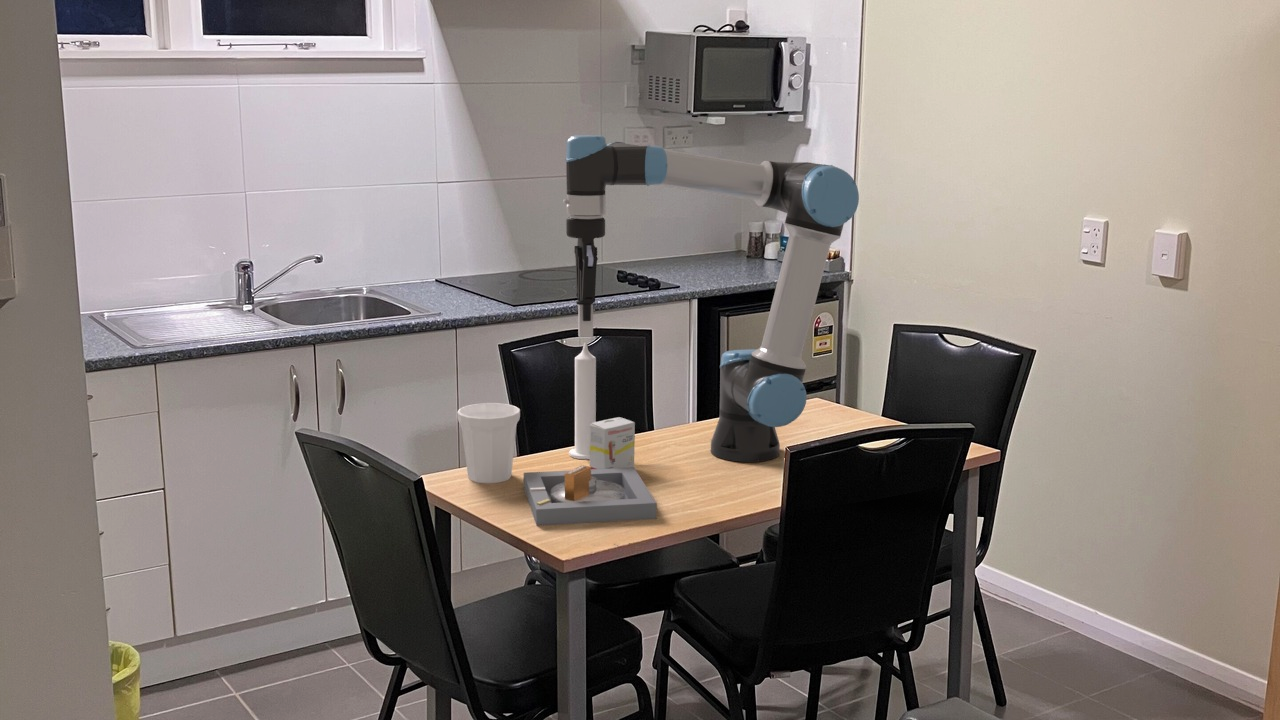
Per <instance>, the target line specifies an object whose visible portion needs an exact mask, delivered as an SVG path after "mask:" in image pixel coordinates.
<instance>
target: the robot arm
mask: <svg viewBox="0 0 1280 720" xmlns="http://www.w3.org/2000/svg"><path fill="white" fill-rule="evenodd" d="M606 141H607V140H606V138H605V136H603V135H595V134H594V135H587V134H584V135H583V134H579V135H578V134H577V135H571V136H570V137H569V138H568V139H567V142H566V154H565V155H566V156H565V162H566V165H565V167H566V168H565V171H566V172H565V173H566V175H565V176H566V199H563V204H564V205H566V214H567V215H568V217H567V218H566V219H565V220H566V221H565V225H566V230H565V231H566V236H567V237H568V238H573V239H577V243H576V244H577V245H574V251H573V252H574V255H575V256H574V258H575V275H576V278H575V281H576V298H577V301H576V302H575V303H576V305H577V308H578V309H577V310H578V312H577V313H578V315H577V317H578V319H577V320H578V321H577V322H578V323H577V325H578V326H577V327H578V329H577V330H578V331H577V333H578V334H577V335H578V338H593V337H594V303H595V302H596V286H597V285H596V281H597V279H596V278H597V264H598V259H599V258H598V247H596V245H595V241H594V240H595V239H600V238H603V237H605V235H606V219H605V218H604V217H603V216H604V215H606V208H607V207H606V199H607V197H606V195H607V194H606V186H646V187H649V186H657V187H664V188H669V189H675V190H682V191H688V192H689V191H690V192H694V193H695V192H697V193H701V194H703V193H704V194H707V195H708V194H710V195H714V196H715V195H716V196H723V197H728V198H729V197H730V198H736V199H742V200H747V201H748V200H749V201H754V203H755V204H756V206H758V207H762V208H768V209H772V210H776V211H779V212H783V213H785V214H786V217H785V220H784V226H785V227H786V230H787V232H788V234H789V235H788V240H787V242H786V247H785V251H784V256H783V259H782V263H781V267H780V271H779V276H778V279H777V282H776V287H775V289H774V293H773V294H774V295H773V298H772V302H771V305H770V311H769V313H768V318H767V321H766V326H765V330H764V334H763V338H762V341H761V345H760V346H759V348H757V349H756V348H755V349H749V348H748V349H734V350H727V351H725V352H724V353H722V354H721V358H720V359H721V360H720V365H719V369H720V376H719V377H720V381H719V383H720V384H719V387H720V388H719V419H718V421H717V424H716V427H715V429H714V433H713V436H712V438H711V442H710V453H711V454H712V455H713V456H714V457H717V458H719V459H721V460H722V459H723V460H727V461H731V462H740V463H741V462H745V463H755V462H756V463H757V462H765V461H771V460H773V459H776V458H777V457H779V456H780V453H781V452H780V450H781V449H780V447H781V446H780V440H779V438H778V437H779V436H778V433H777V430H776V428H780V427H781V428H782V427H785V426H787V425H789V424H791V423H793V422H795V421H796V420H797V419H798V418H799V417H800V416H801V414H802V413H803V411H804V410H805V407H806V403H807V398H808V397H807V391H806V388H805V386H804V384H803V381H804V377H805V374H806V370H807V365H806V363H805V362H804V360H803V359H802V358H803V357H802V355H803V352H804V348H805V344H806V341H807V340H806V339H807V337H808V332H809V328H810V325H811V320H812V316H813V314H814V310H815V306H816V302H817V298H818V294H819V290H820V286H821V282H822V278H823V275H824V271H825V267H826V263H827V261H828V256H829V252H830V248H831V245H832V243H834V242H836V241H838V240H839V239H840V238H841V236H842V232H843V229H844V225H845V224H846V223H847V222H849V220H851V219H852V218H853V216H854V215H855V214H856V212H857V209H858V206H859V201H860V194H859V188H858V185H857V183H856V181H855V179H854V178H853V177H852V176H851V175H850V174H849V173H848V172H847V170H844V169H842V168H839V167H837V166H834V165H833V164H824V163H823V164H820V163H816V162H815V163H814V162H808V161H807V162H805V161H804V162H801V161H800V162H782V161H780V162H779V161H771V160H763V161H762V162H761V163H760V164H758V163H752V162H746V161H741V160H734V159H727V158H720V157H714V156H709V155H708V156H707V155H701V154H695V153H694V154H693V153H688V152H683V151H682V152H681V151H675V150H668V149H665V148H664V147H662V146H659V145H650V144H649V145H639V144H638V145H636V144H631V143H625V142H622V141H615V142H611V143H607V142H606Z"/></svg>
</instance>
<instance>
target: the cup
mask: <svg viewBox="0 0 1280 720" xmlns="http://www.w3.org/2000/svg"><path fill="white" fill-rule="evenodd" d="M456 413H457V421H458V423H459V425H460V427H461V435H462V441H463V449H464V450H463V451H464V456H465V462H466V463H465V464H466V465H465V466H466V471H467V479H469V480H470V481H472V482H475V483H479V484H497V483H502V482H507V481H509V480H510V479H511V476H512V474H513V473H512V472H513V464H514V463H513V462H514V454H515V453H514V452H515V446H516V445H515V443H516V435H517V434H516V433H517V426H518V425H517V424H518V422H519V421H520V417H521V409H520V408H519V407H517V406H515V405H513V404H509V403H501V402H500V403H499V402H483V403H474V404H469V405H464V406H463V407H460V408H459V409H458V410H457V412H456Z"/></svg>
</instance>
